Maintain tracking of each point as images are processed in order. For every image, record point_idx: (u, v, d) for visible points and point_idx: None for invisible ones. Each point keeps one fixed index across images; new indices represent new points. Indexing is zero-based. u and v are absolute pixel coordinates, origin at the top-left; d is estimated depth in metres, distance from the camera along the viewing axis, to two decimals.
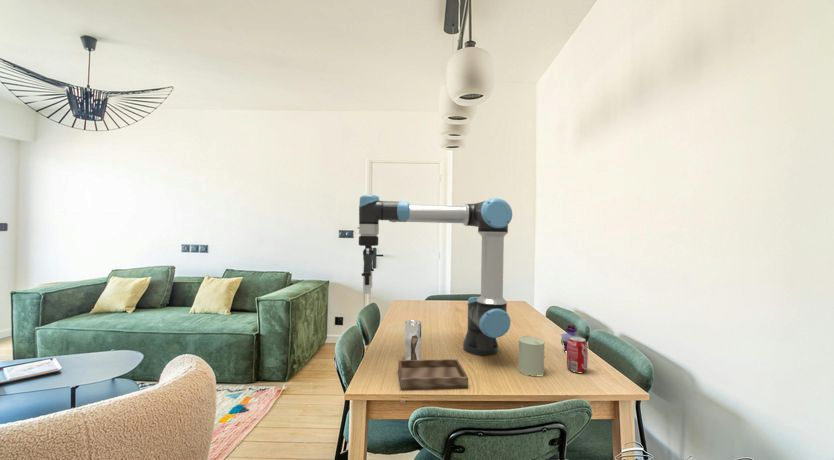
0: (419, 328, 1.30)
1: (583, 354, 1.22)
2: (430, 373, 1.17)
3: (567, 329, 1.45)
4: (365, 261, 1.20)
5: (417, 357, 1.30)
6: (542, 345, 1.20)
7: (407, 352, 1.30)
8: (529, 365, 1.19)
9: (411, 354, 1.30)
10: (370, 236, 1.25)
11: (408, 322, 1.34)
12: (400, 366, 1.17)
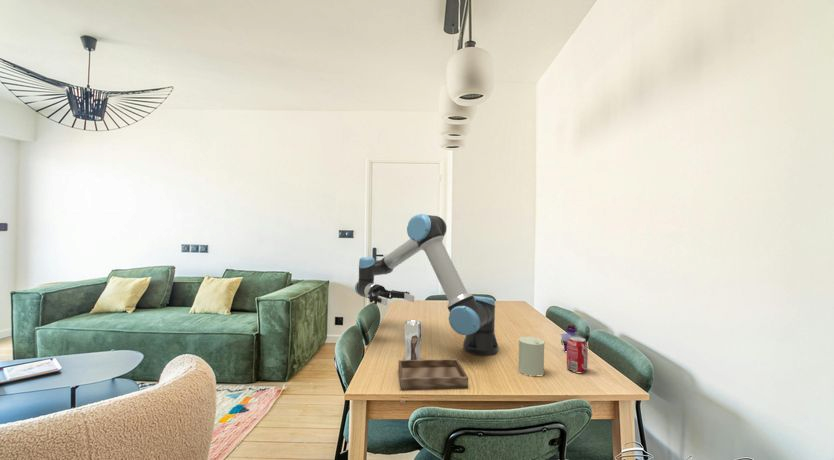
0: (419, 328, 1.30)
1: (583, 354, 1.22)
2: (430, 373, 1.17)
3: (567, 329, 1.45)
4: (369, 298, 1.45)
5: (417, 357, 1.30)
6: (542, 345, 1.20)
7: (407, 352, 1.30)
8: (529, 365, 1.20)
9: (411, 354, 1.30)
10: (369, 291, 1.55)
11: (408, 322, 1.34)
12: (400, 366, 1.17)
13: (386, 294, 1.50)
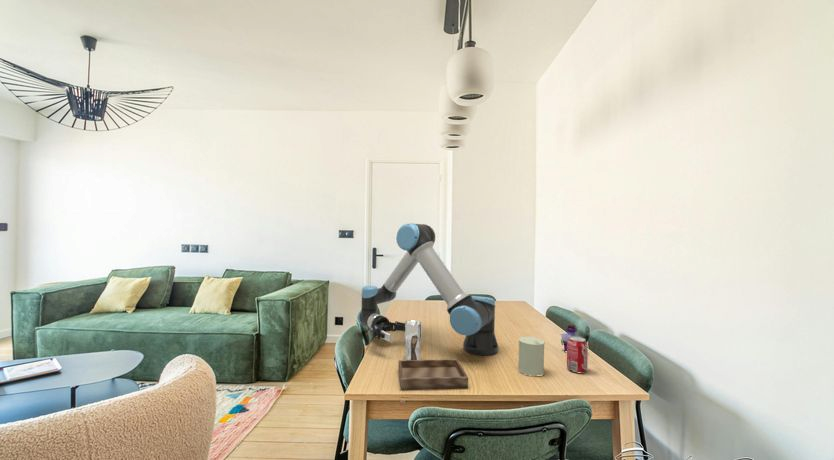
0: (419, 328, 1.30)
1: (583, 354, 1.22)
2: (430, 373, 1.17)
3: (567, 329, 1.45)
4: (372, 332, 1.41)
5: (417, 357, 1.30)
6: (542, 345, 1.20)
7: (407, 352, 1.30)
8: (529, 365, 1.20)
9: (411, 354, 1.30)
10: (372, 322, 1.52)
11: (408, 322, 1.34)
12: (400, 366, 1.17)
13: (389, 327, 1.47)
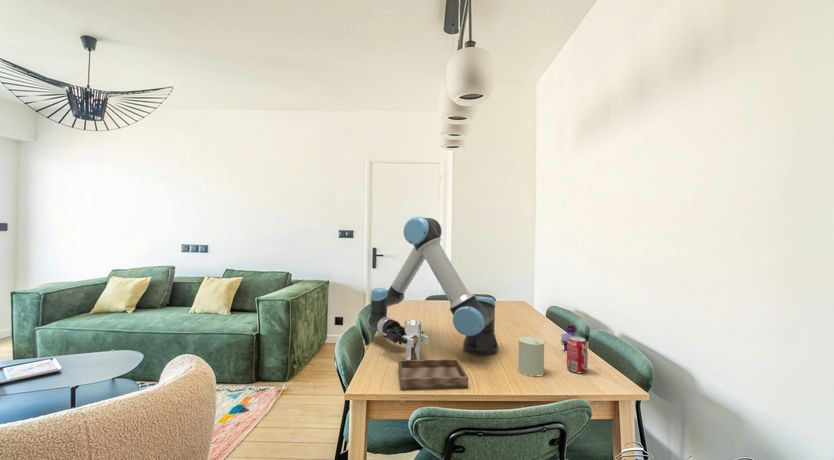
0: (419, 328, 1.30)
1: (583, 354, 1.22)
2: (430, 373, 1.17)
3: (567, 329, 1.45)
4: (389, 338, 1.34)
5: (417, 357, 1.30)
6: (542, 345, 1.20)
7: (407, 352, 1.30)
8: (529, 365, 1.20)
9: (411, 354, 1.30)
10: (383, 327, 1.44)
11: (408, 322, 1.34)
12: (400, 366, 1.17)
13: (401, 331, 1.39)
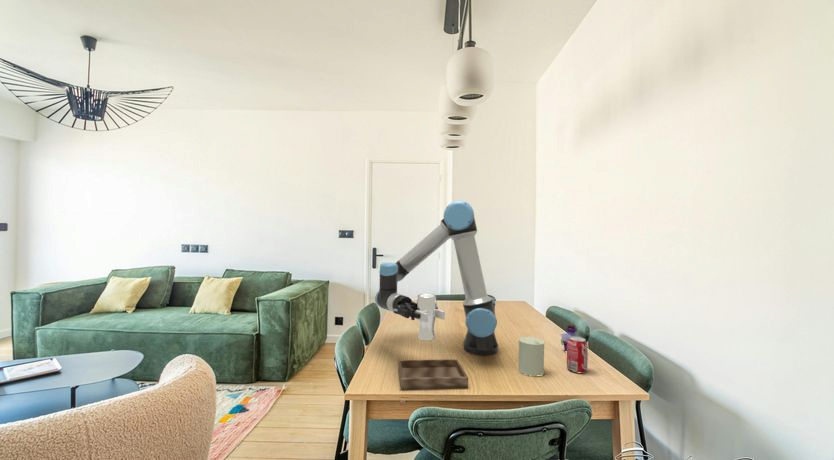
0: (434, 301, 1.16)
1: (583, 354, 1.22)
2: (430, 373, 1.17)
3: (567, 329, 1.45)
4: (400, 313, 1.20)
5: (432, 334, 1.16)
6: (542, 345, 1.20)
7: (420, 328, 1.16)
8: (529, 365, 1.20)
9: (424, 330, 1.16)
10: (393, 303, 1.31)
11: (421, 296, 1.20)
12: (400, 366, 1.17)
13: (414, 307, 1.25)
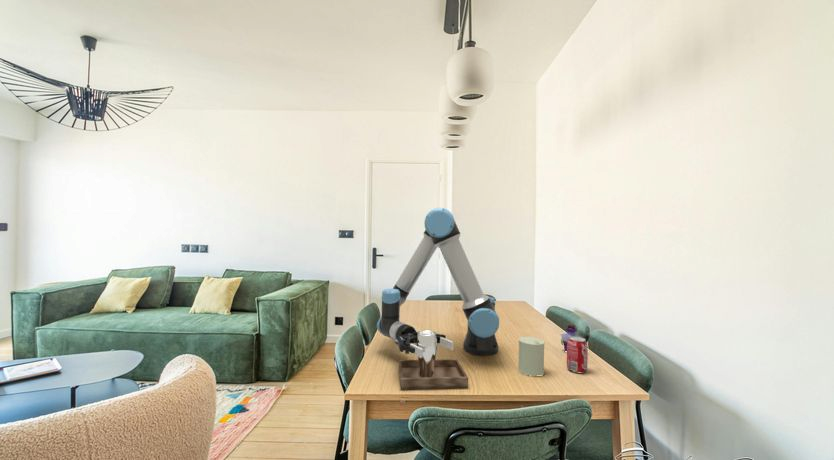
0: (434, 340, 1.13)
1: (583, 354, 1.22)
2: None
3: (567, 329, 1.45)
4: (398, 345, 1.18)
5: (432, 373, 1.13)
6: (542, 345, 1.20)
7: (421, 368, 1.13)
8: (529, 365, 1.20)
9: (425, 369, 1.12)
10: None
11: (421, 332, 1.17)
12: (400, 366, 1.17)
13: None
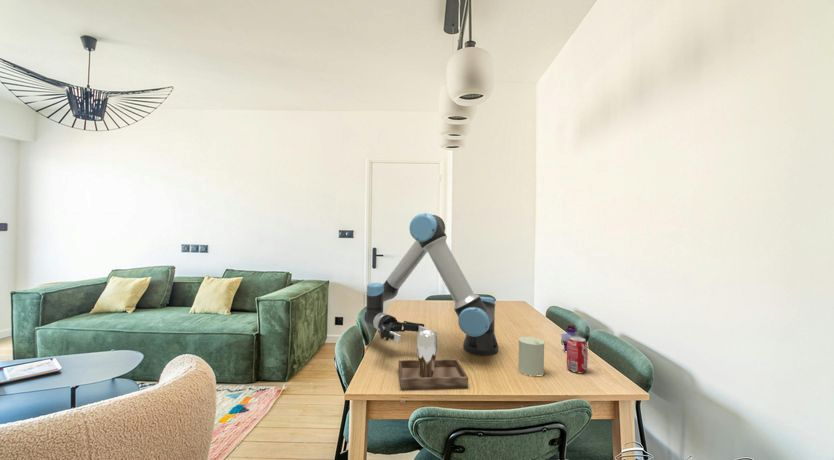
0: (434, 340, 1.13)
1: (583, 354, 1.22)
2: None
3: (567, 329, 1.45)
4: None
5: (432, 373, 1.13)
6: (542, 345, 1.20)
7: (421, 367, 1.13)
8: (529, 365, 1.20)
9: (425, 369, 1.12)
10: (379, 322, 1.39)
11: (421, 332, 1.17)
12: (400, 366, 1.17)
13: (398, 327, 1.34)
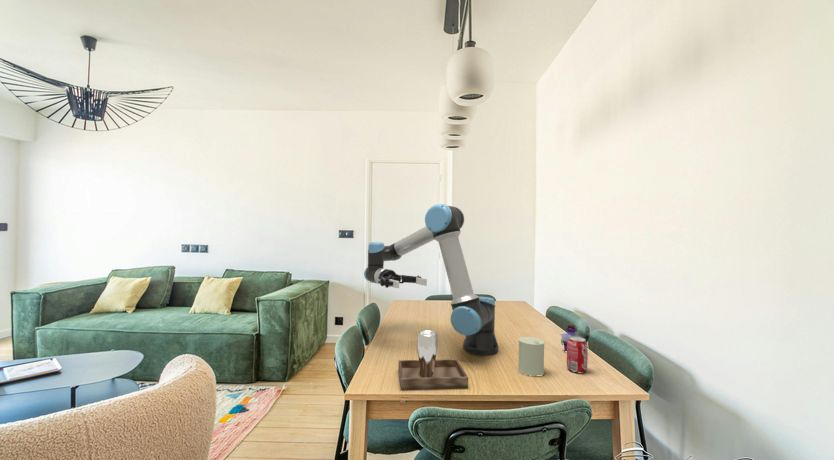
0: (435, 340, 1.13)
1: (583, 354, 1.22)
2: None
3: (567, 329, 1.45)
4: (380, 282, 1.39)
5: (432, 373, 1.13)
6: (542, 345, 1.20)
7: (421, 367, 1.13)
8: (529, 365, 1.20)
9: (425, 369, 1.12)
10: (379, 276, 1.49)
11: (421, 332, 1.17)
12: (400, 366, 1.17)
13: (397, 278, 1.44)
